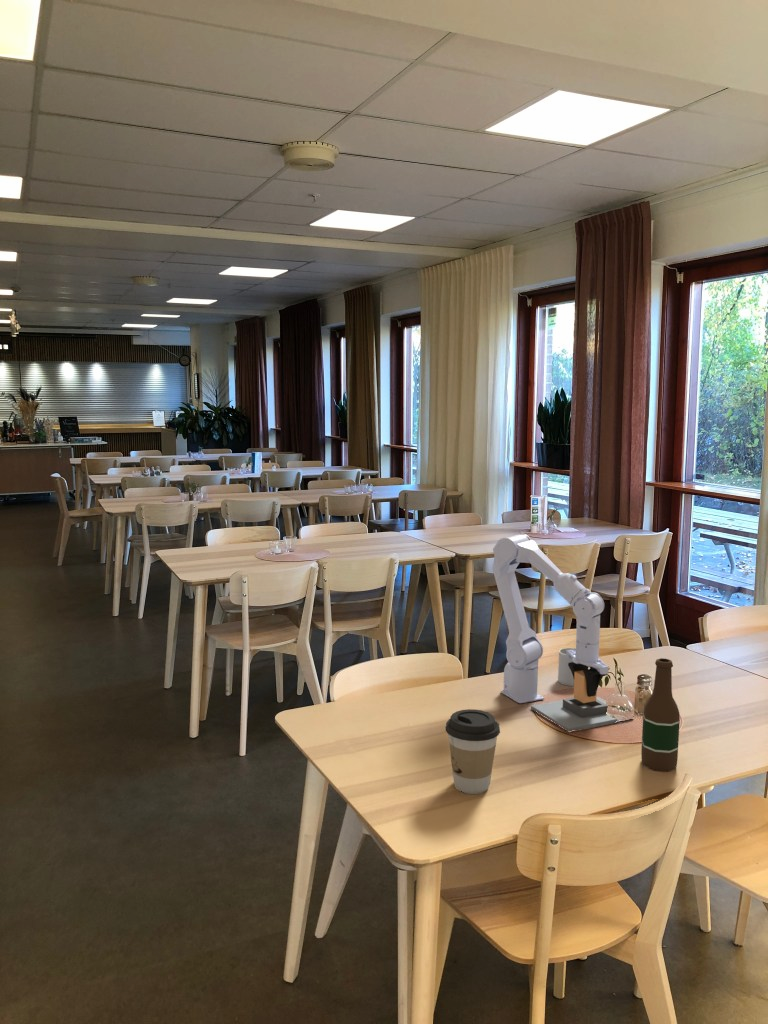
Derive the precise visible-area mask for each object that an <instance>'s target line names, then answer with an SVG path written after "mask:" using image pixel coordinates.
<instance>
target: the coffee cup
mask: <svg viewBox="0 0 768 1024" xmlns="http://www.w3.org/2000/svg"><path fill="white" fill-rule="evenodd" d="M445 733H447V734H448V735H447V736H448V741H449V742H448V743H449V744H448V745H449V751H450V753H449V754H450V761H451V768H452V777H453V779H452V780H453V784H454V787H455V786H456V787H455V788H457V789H456V790H458V791H459V790H460V791H459V792H461V791H462V793H463V792H464V794H469V795H478V793H479V794H483V793H486V791H488V789H489V787H490V784H491V779H492V777H491V776H492V772H493V767H494V766H493V765H494V759H495V753H496V747H497V739H498V737H499V735H500V733H501V728H500V724H499V722H498V721H497V720H496V718H495V716H494V715H493V714H492V713H490V712H488V711H485V710H482V709H481V710H480V709H472V708H471V709H470V708H469V709H461V710H458V711H457V710H456V711H455V712H453V713H451V715H450V718H448V720H447V721H446V723H445Z"/></svg>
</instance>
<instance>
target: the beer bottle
mask: <svg viewBox="0 0 768 1024" xmlns="http://www.w3.org/2000/svg"><path fill="white" fill-rule="evenodd" d="M654 664H655V666H656V667H655V668H656V669H655V676H654V683H653V685H654V686H653V690H652V693H651V694H650V695H649V697H648V698H647V699H646V701H645V704H644V706H643V711H642V713H643V714H642V717H643V718H642V728H641V729H642V731H641V732H642V734H641V735H642V736H641V755H640V757H641V761H642V764H643V766H644V767H645V768H648V769H650V770H652V771H654V772H655V771H656V772H667V773H668V772H670V771H673V770H674V769H675V770H676V768H677V765H678V755H679V742H680V741H679V738H680V737H679V735H680V722H681V721H680V720H681V719H680V709H679V707H678V705H677V702H676V701H675V699H674V697H673V689H672V687H673V686H672V685H673V683H672V682H673V681H672V677H673V676H672V674H673V671H672V668H673V667H674V665H673V661H672V660H671V659H668V658H663V657H661V658H658V659H656V660H655V662H654Z"/></svg>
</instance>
